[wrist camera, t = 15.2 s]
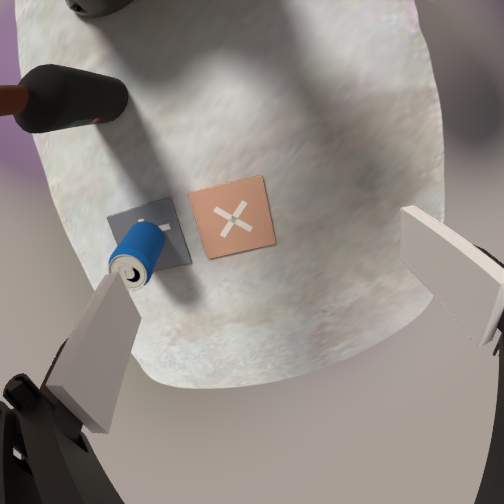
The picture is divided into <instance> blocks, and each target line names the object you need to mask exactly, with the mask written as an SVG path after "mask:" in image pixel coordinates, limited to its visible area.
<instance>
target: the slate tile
mask: <svg viewBox="0 0 504 504" xmlns="http://www.w3.org/2000/svg"><path fill="white" fill-rule="evenodd" d="M107 220H108V223H109V225H110V228H111V230H112V233H113V235H114V238H115V240H116V243H117V245H119V244H120V242H121V241H122V239H123V238H124V237H125V235H126V234H127V233H128V231H129V230H130V229H131V227H132V226H133V225H134V224H136V223H138V222H142V221H147V222H151V223H153V224H155V225H157V226H158V227H159V228H160V229H161V231H162V233H163V235H164V246H163V249H162V251H161V254H160V256H159V258H158V261H157V263H156V266H155V268H154V271H158V270H163V269H167V268H171V267H176V266H180V265H184V264H189V263H191V262H192V261H191V258H190V255H189V252H188V249H187V246H186V243H185V240H184V237H183V234H182V231H181V228H180V225H179V222H178V219H177V216H176V213H175V210H174V206H173V203H172V200H171V198H167V199H164V200H160V201H157V202H153V203H150V204H146V205H143V206H140V207H136V208H133V209H130V210H127V211H123V212H120V213H117V214H114V215H111V216H108V217H107ZM154 271H153V272H154Z"/></svg>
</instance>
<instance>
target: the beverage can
mask: <svg viewBox="0 0 504 504" xmlns="http://www.w3.org/2000/svg"><path fill="white" fill-rule="evenodd" d="M163 246H164V235H163V233H162V231H161V229H160V228H159V227H158V226H157V225H155V224H153V223H151V222H147V221H142V222H138V223H136V224H134V225H133V226H132V227H131V229H130V230H129V231H128V233H127V234H126V235H125V237H124V238H123V239H122V241H121V242H120V244H119V245H118V246H117V248H116V249H115V251H114V252H113V253H112V255H111V257H110V259H109V268H108V271H109V274H111V273H115V272H119V273H120V276H121V278H122V280H123V282H124V284H125V286H126V288H127V290H128V291H135V290H138V289H140V288H141V287H143V286H144V285H146V284H147V283H148V282H149V280H150V278H151V276H152V273H153V271H154V268H155V266H156V263H157V261H158V258H159V256H160V254H161V251H162V249H163Z"/></svg>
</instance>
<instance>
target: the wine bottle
mask: <svg viewBox="0 0 504 504" xmlns="http://www.w3.org/2000/svg"><path fill="white" fill-rule="evenodd" d="M127 101H128V92H127V89H126V87H125V85H124V84H123V83H122V82H121V81H120V80H118V79H115V78H112V77H109V76H105V75H101V74H97V73H92V72H88V71H84V70H79V69H75V68H70V67H65V66H60V65H54V64H47V65H40V66H38V67H36V68H34V69H32V70H31V71H29V72H28V73H27V74H26V75H25V76H24V77H23V79H22V80H21V81H20V83H19V84H18V85H6V86H5V85H3V86H0V116H4V115H12V114H13V116H14V118H15V120H16V122H17V124H18V125H19V126H20V127H21V128H22V129H23V130H24V131H26V132H29V133H45V132H50V131H55V130H60V129H66V128H72V127H78V126H84V125H91V124H98V123H106V122H109V121H113V120H114V119H116V118H117V117H119V116H120V115H121V114H122V112H123V111H124V109H125V107H126V105H127Z"/></svg>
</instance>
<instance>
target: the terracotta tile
mask: <svg viewBox="0 0 504 504" xmlns="http://www.w3.org/2000/svg"><path fill="white" fill-rule="evenodd" d="M188 196H189V200H190V203H191V206H192V210H193V213H194V216H195V220H196V223H197V226H198V230H199V233H200V236H201V239H202V243H203V246H204V249H205V252H206V255H207V258H208V259H211V258H215V257H219V256H224V255H228V254H233V253H237V252H241V251H246V250H250V249H255V248H259V247H263V246H268V245H272V244H276V241H275V236H274V231H273V226H272V221H271V216H270V211H269V206H268V201H267V196H266V192H265V187H264V182H263V177H262V175H260V176H255V177H251V178H247V179H242V180H238V181H233V182H229V183H225V184H221V185H217V186H213V187H209V188H205V189H201V190H197V191H193V192H189V193H188Z"/></svg>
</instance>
